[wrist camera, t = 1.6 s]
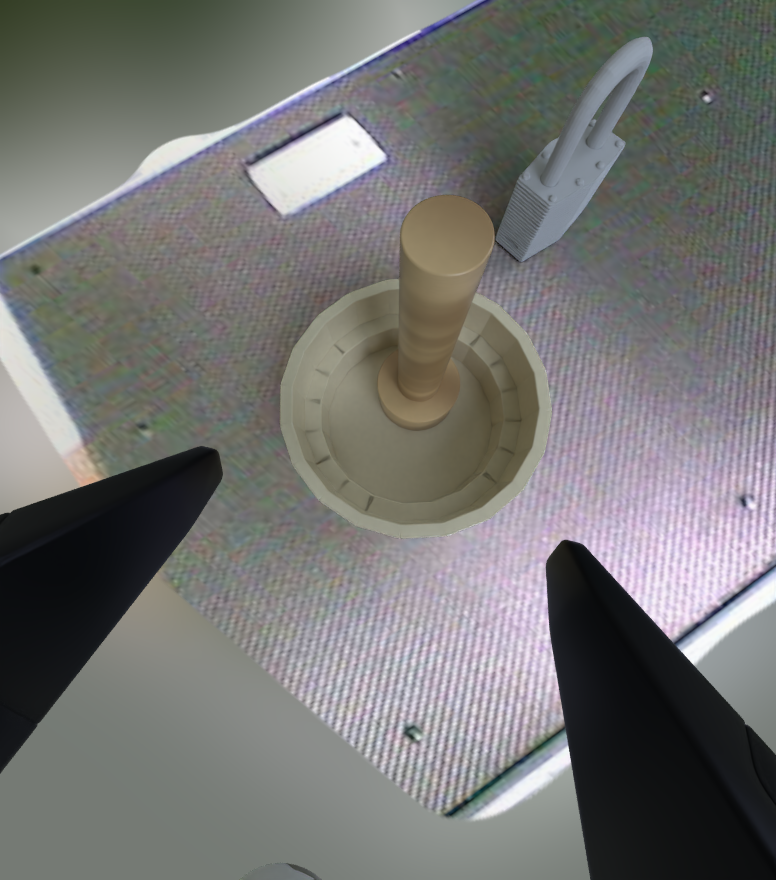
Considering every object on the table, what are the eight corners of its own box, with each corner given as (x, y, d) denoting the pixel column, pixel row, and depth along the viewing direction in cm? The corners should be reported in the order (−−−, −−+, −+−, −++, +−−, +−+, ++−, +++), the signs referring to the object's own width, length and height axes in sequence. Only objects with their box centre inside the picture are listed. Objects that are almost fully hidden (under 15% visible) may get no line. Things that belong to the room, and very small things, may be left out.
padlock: (550, 185, 25) (649, -14, 15) (588, 216, 25) (715, 28, 15) (487, 236, 24) (549, 61, 15) (524, 269, 24) (615, 109, 14)
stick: (428, 445, 21) (482, 355, 8) (364, 405, 22) (315, 260, 8) (467, 383, 22) (578, 206, 8) (405, 346, 22) (417, 129, 9)
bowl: (443, 571, 20) (460, 599, 15) (267, 451, 22) (225, 436, 16) (549, 392, 22) (599, 358, 17) (380, 296, 24) (376, 236, 18)
